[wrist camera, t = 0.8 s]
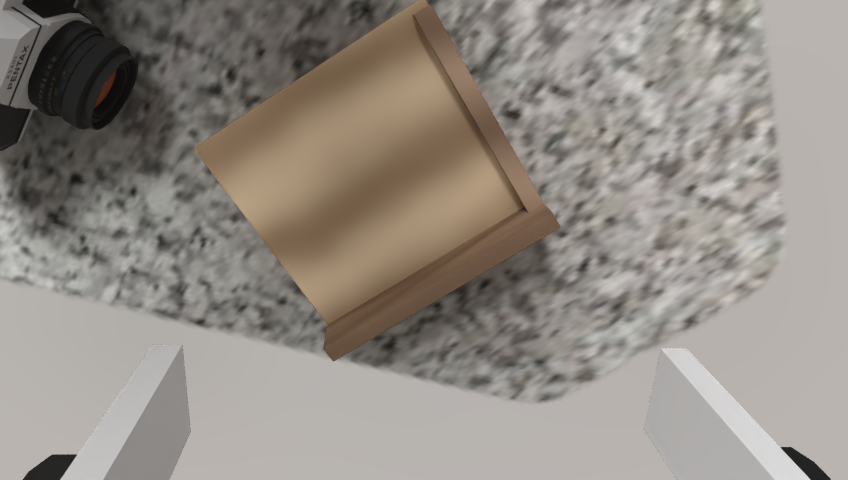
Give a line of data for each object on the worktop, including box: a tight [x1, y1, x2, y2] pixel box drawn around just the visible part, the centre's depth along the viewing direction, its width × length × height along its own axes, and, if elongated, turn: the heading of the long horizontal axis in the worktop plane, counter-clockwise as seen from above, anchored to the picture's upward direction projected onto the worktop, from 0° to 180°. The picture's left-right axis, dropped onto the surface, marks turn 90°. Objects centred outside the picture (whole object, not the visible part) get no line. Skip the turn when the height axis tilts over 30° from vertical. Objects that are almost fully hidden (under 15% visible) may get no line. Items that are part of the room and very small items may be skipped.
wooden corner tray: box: [193, 0, 560, 361], centre depth 35 cm, size 14×15×6 cm
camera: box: [0, 0, 138, 151], centre depth 31 cm, size 13×8×9 cm, turn 151°
